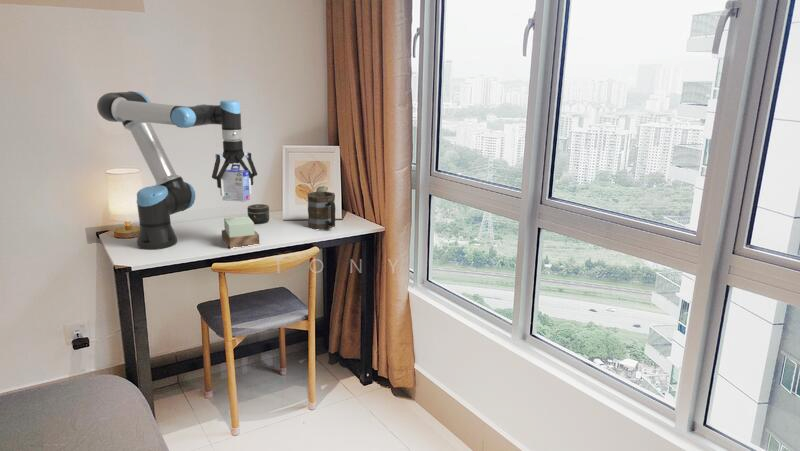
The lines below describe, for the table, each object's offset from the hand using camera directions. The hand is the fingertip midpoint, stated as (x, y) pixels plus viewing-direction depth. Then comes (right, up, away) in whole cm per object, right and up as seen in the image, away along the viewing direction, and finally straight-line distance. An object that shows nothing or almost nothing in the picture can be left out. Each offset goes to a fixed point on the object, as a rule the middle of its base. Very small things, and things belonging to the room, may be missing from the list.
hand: (236, 194), depth 229 cm
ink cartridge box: (0, -2, +1) cm, 3 cm away
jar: (0, -11, +38) cm, 39 cm away
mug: (+32, -14, +30) cm, 46 cm away
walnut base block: (0, -20, +6) cm, 21 cm away
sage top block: (0, -16, +4) cm, 16 cm away
